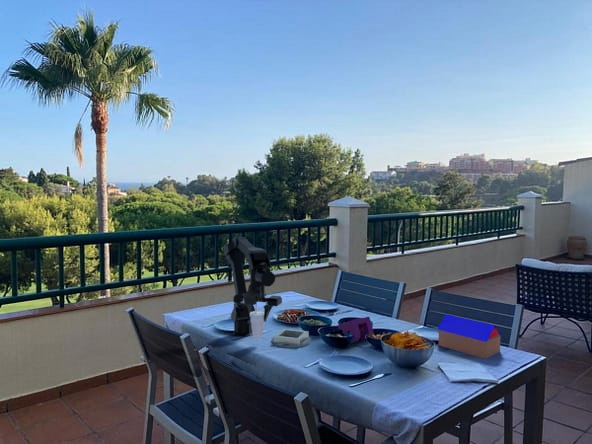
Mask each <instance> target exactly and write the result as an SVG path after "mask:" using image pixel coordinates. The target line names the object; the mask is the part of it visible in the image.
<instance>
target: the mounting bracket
mask: <svg viewBox="0 0 592 444" xmlns="http://www.w3.org/2000/svg"><path fill="white" fill-rule="evenodd" d="M333 327H338V328H339V329H340V330H342V331H341V332H342V334H343V333H346V334H349V333H350V332H351V335H353V336H354V339H353V341H352V342H351V343H350V344H352V343H357V342H358V341H359V340H360V339H361V340H364V341H365V340H367V339H366V338H365V335H366V334H373V335H374V328H373V325H372V322H371V319H370V316H365V317H360V318H356V319H350V320H348V321H346V322H343V323H340V324H337V325H334V326H333Z"/></svg>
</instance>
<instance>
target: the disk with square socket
mask: <svg viewBox="0 0 592 444" xmlns="http://www.w3.org/2000/svg"><path fill="white" fill-rule="evenodd" d="M309 334H310V333H309V331H307V330H300V329H298V330H297V329H289V328H283V329H281V330H280V331H279V332H278V333H277V334H275V335H274V336H273V337H272V338H271V343H272V344H273V345H274V346H276V347H280V348H284V349H296V348H297V349H298V348H304V347H307V346H309V345H311V343H312V339H311V337H310V336H309Z"/></svg>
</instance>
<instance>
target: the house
mask: <svg viewBox="0 0 592 444" xmlns="http://www.w3.org/2000/svg"><path fill="white" fill-rule="evenodd" d="M437 330H438V346H439V347H442V348H446V349H450V350H452V351H456V352H460V353H464V354H467V355H470V356H474V357H477V358H481V359H484V360H487V359H488V358H491V357H493V356H494V355H497V354H499V353H500V352H501V336H502V333H501V332H500V330H499V329H498V328H497V326H496V325H495V324H491V323H485V322H483V321H477V320H473V319H469V318H465V317H459V316H455V315H450V314H445V315H444V317H443V319H442V321H441V322H440V325H439V327H438V328H437Z"/></svg>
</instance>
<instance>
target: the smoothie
mask: <svg viewBox="0 0 592 444" xmlns="http://www.w3.org/2000/svg"><path fill="white" fill-rule="evenodd" d="M254 308H255V311H253V312H250V315H249V316H250V317H251V325H252V338H253V339H255V340H257V339H260V340H261V339H262V338H263V335H264V334H263V333H264V327H265V322H264V311H261V310H258V302H257V303H256V304H255V305H254Z"/></svg>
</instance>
